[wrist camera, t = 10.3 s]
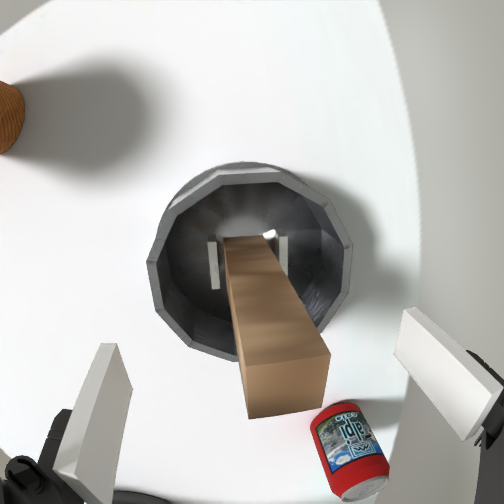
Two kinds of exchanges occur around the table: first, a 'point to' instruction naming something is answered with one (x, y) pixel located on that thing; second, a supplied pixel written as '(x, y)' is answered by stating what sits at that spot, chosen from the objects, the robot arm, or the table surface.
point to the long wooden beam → (272, 333)
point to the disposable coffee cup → (10, 115)
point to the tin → (235, 225)
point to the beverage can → (349, 452)
